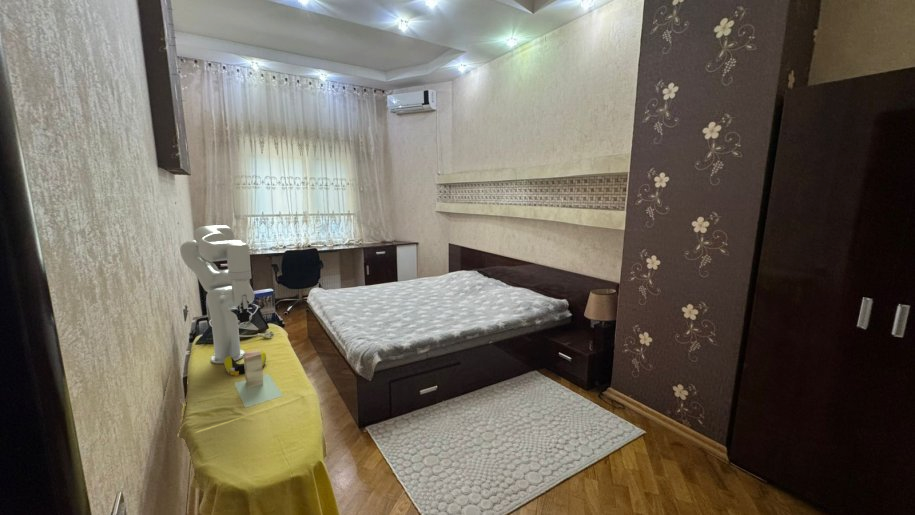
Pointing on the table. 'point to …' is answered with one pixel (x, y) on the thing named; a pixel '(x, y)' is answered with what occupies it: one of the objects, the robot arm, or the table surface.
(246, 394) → the sage mat
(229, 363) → the gaming controller
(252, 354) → the birch pillar
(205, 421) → the table surface
